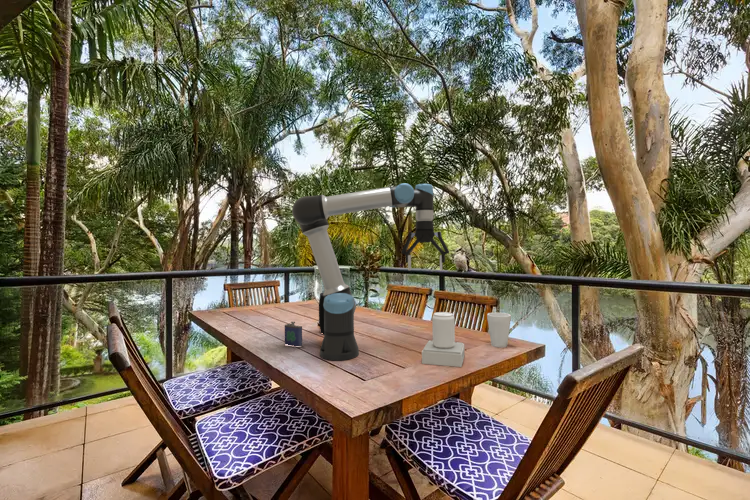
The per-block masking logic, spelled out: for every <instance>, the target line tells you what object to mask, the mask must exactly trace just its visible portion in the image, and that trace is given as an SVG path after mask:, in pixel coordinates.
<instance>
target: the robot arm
mask: <svg viewBox="0 0 750 500" xmlns="http://www.w3.org/2000/svg"><path fill="white" fill-rule="evenodd" d="M386 207H389V208H415V220H416V222H415V232H408V235H407V236H408V237H407V240H406V242H405V243H404V245H403V248H402V250H401V252H400V253H401V254H402V255H404V256H405V263H407V271H412V255H411V252H412V251H413V250H414V249H415V248H416V247H417V245H418V244H419V243H431V244H432V246H434V247H435V248H436V250H437V251H438V252H439V253H440V254H439V271H440V272H442V271H443V263H444V264H445V262H446V254H447V255H448V254H449V253H450V250H449V248H448V246H447V244H446V243H445V240H444V239H443V237H442V236H443V235H442V232H441V231H437V232H435V231H434V230H435V229H434V225H435V224H434V221H433V220H434V187H433V185H432V183H431V184H429V183H419V184H416V185H415V188H413V186H412V185H411V184H409V183H405V182H404V183H400V184H398V185H394V186H393V185H392V186H386V187H379V188H374V189H366V190H361V191H354V192H348V193H342V194H335V195H329V196H325V195H324V194H319V195H310V196H309V195H307V196H302V197H299V198H298V199H297V200H295V202H294V203H293V204H292V209H291V211H292V213H291V214H292V217H293V218H294V220H295V221H296V222H297V223H298V224H299V227H300V229H301V233H302V235H305V237H307V239H308V243H309V244H310V249H311V250H312V254H313V257H314V260H315V263H316V265H317V269H318V272H319V275H320V279H321V280H322V284H323V287H324V292H323V293H324V294H323V296H324V303H323V306H324V335H323V338H322V343H321V346H320V348H319V356H321V357H320V358H322V357H323V358H322V359H324V358H325V359H324V360H327V359H329V360H328V361H347V360H351V359H355V358H356V357H358V356H359V354H360V353H359V352H360V351H359V350H360V349H359V346H358V342H357V339H356V337H355V319H354V318H355V316H354V315H355V312H356V309H357V306H356V305H357V303H356V299H355V298H354V296H353V294H352V291H351V288H350V286H349V285H348V284H346V283H345V281H344V279H343V275H342V272H341V268H340V265H339V264H338V259H337V256H336V255H335V251H334V248H333V245H332V242H331V239H330V236H329V232H328V228H329V226H330V224H329V222H328V218H329V217H331V216H337V215H344V214H349V213H356V212H363V211H369V210H374V209H381V208H386ZM414 236H415V238H416V239H415V241H414V242H413V243H412V245H411V246H410V243H411V241H412V238H414ZM435 236H436V237H437V238H438V240H439V242H440V244H441V246H442V247H440V245H439V244H438V243H437V242H436V240H434V237H435ZM409 246H410V247H409ZM408 247H409V248H408ZM442 248H443V249H442Z"/></svg>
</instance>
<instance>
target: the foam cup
mask: <svg viewBox="0 0 750 500" xmlns="http://www.w3.org/2000/svg"><path fill="white" fill-rule="evenodd" d="M486 317H487V319H486V320H487V323H488V331H489V338H490V344H491V346H492V347H494V348H507V347H508V342H509V335H510V327H511V321H512V315H511V314H509V313H508V312H506V313H505V312H488V313H487V315H486Z"/></svg>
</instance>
